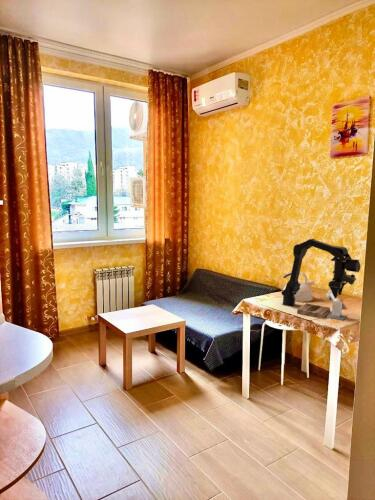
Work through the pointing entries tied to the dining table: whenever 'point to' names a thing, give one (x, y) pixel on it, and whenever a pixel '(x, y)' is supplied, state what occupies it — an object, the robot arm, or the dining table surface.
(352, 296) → the dining table surface
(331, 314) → the charcoal mat
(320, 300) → the dining table surface
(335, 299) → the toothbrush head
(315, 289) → the dining table surface
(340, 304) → the steel nut block
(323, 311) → the walnut rail plate
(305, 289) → the kettle
